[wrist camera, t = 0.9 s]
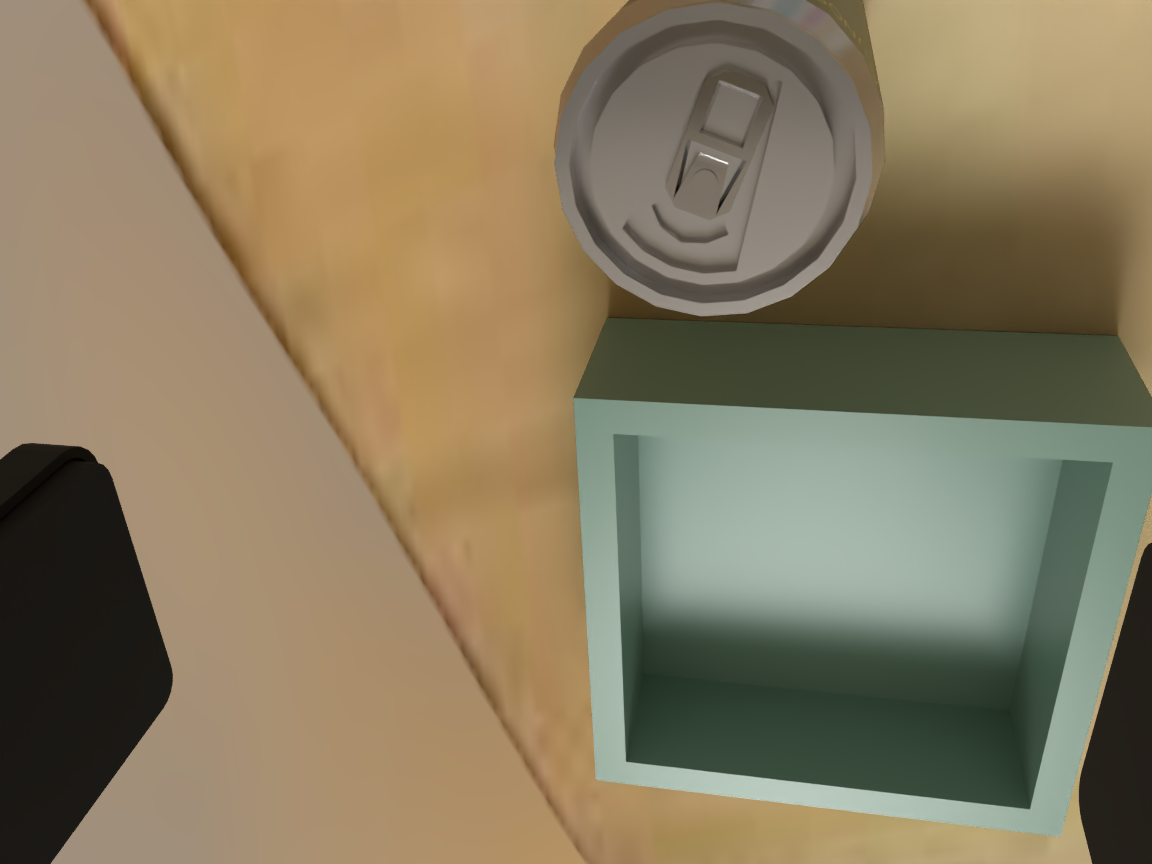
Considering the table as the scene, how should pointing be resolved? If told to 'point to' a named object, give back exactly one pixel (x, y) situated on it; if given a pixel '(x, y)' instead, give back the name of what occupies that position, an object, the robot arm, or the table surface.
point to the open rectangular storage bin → (856, 560)
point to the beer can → (721, 147)
